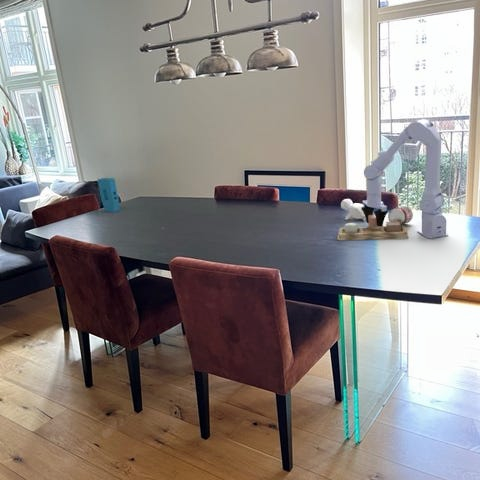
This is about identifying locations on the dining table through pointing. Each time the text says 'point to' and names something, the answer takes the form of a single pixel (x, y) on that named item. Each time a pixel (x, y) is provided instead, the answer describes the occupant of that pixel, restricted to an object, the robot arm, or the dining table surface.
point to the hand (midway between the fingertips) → (374, 224)
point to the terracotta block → (372, 221)
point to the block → (108, 194)
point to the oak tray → (372, 233)
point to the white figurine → (353, 209)
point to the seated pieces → (389, 226)
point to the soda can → (400, 215)
